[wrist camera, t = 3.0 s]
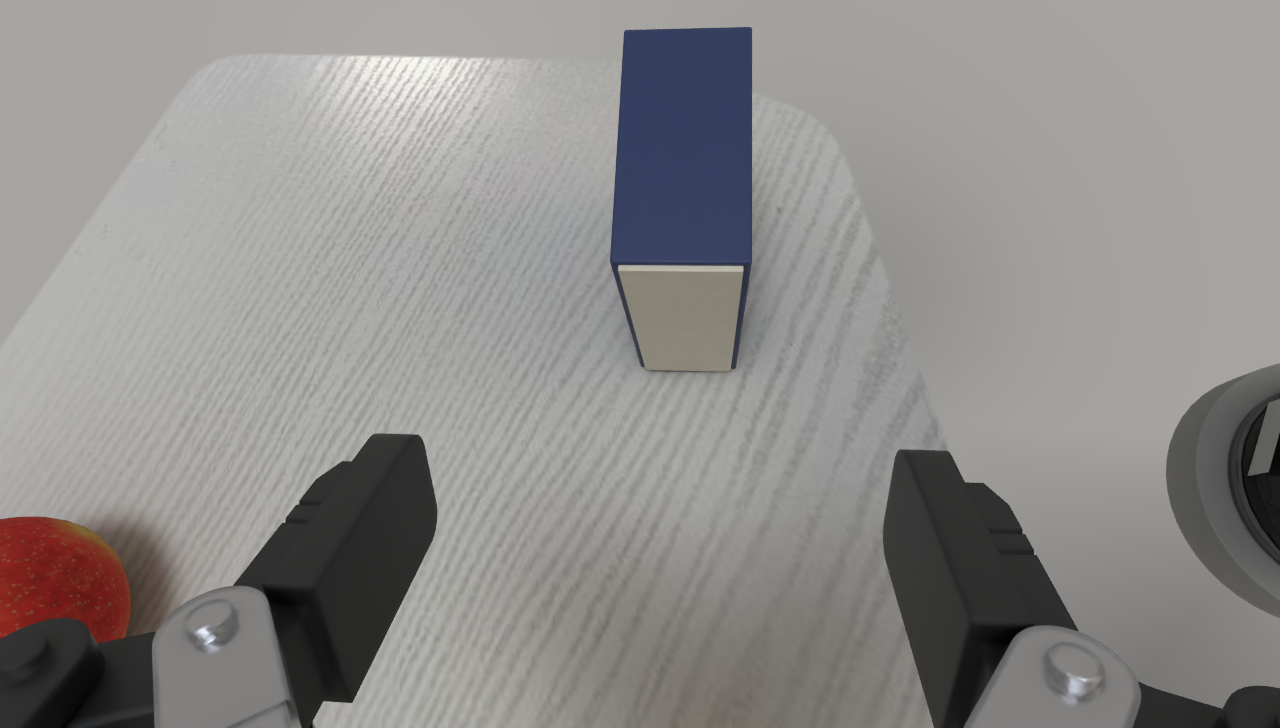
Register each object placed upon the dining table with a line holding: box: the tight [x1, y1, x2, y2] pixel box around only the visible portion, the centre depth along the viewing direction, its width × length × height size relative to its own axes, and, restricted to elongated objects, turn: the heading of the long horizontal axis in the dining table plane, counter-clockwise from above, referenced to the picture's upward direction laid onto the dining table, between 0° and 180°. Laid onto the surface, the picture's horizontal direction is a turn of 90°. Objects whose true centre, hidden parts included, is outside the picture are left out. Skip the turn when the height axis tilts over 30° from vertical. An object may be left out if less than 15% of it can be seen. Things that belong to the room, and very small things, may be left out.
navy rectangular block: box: [610, 27, 752, 372], centre depth 30 cm, size 4×9×12 cm, turn 177°
